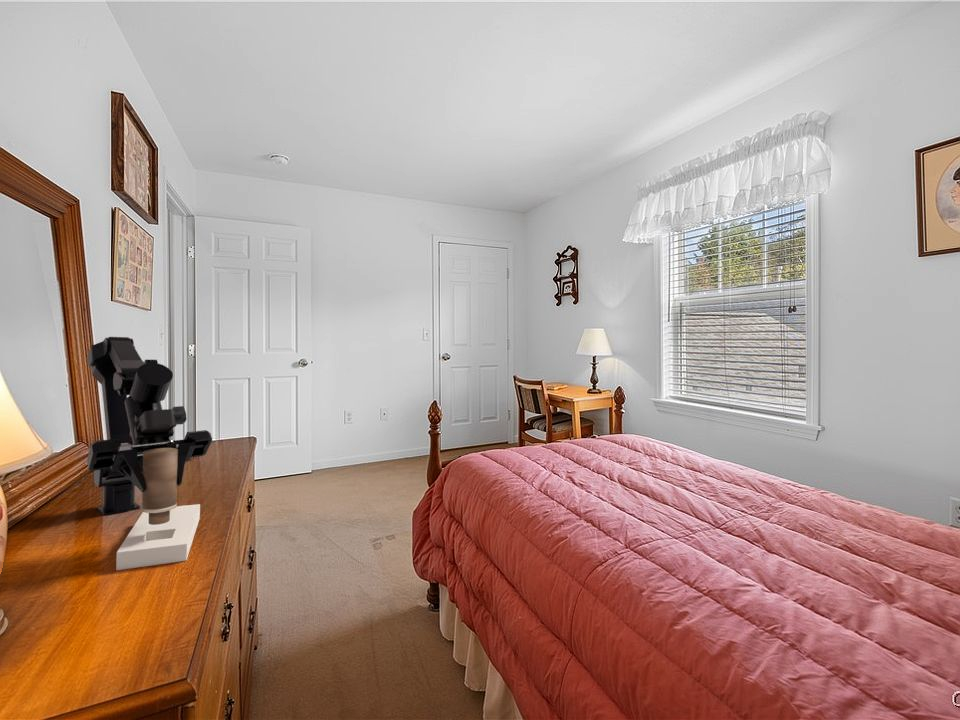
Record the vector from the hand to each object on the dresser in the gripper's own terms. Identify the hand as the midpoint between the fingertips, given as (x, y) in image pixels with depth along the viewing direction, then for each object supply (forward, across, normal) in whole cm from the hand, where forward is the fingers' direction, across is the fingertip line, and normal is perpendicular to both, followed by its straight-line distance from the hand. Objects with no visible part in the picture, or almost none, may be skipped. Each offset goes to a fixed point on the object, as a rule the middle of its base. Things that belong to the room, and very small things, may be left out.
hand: (162, 487), depth 85 cm
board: (+4, +2, +13) cm, 13 cm away
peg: (+4, 0, +6) cm, 7 cm away
